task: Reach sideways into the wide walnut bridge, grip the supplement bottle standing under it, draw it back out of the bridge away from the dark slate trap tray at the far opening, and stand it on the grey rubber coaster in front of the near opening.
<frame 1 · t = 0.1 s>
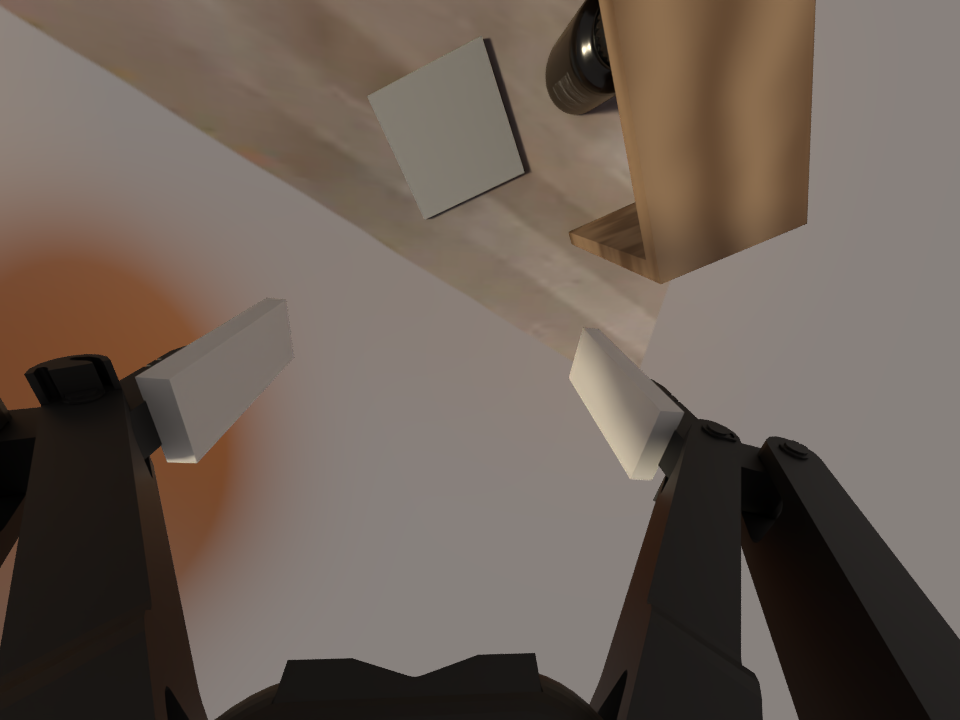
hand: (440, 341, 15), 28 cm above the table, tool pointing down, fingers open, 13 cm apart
bridge: (577, 73, 34), on the table
supplement bottle: (576, 74, 34), on the table
coaster: (450, 137, 35), on the table
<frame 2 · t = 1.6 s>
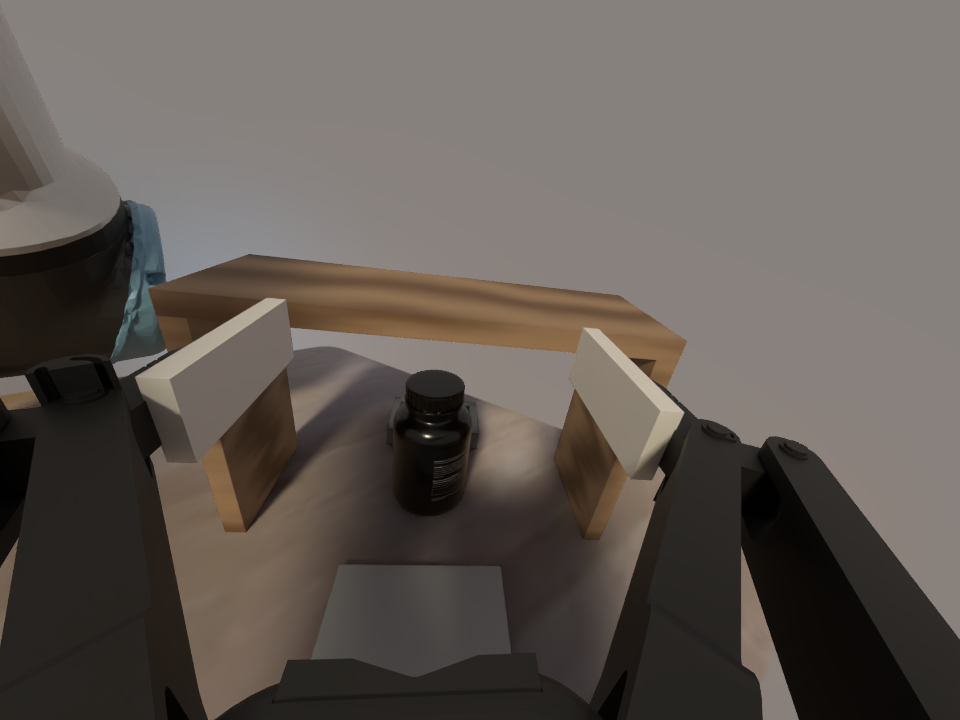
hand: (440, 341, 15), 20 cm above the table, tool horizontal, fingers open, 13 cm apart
bridge: (428, 488, 33), on the table
trap tray: (433, 429, 41), on the table
supplement bottle: (428, 490, 33), on the table
coaster: (413, 672, 20), on the table
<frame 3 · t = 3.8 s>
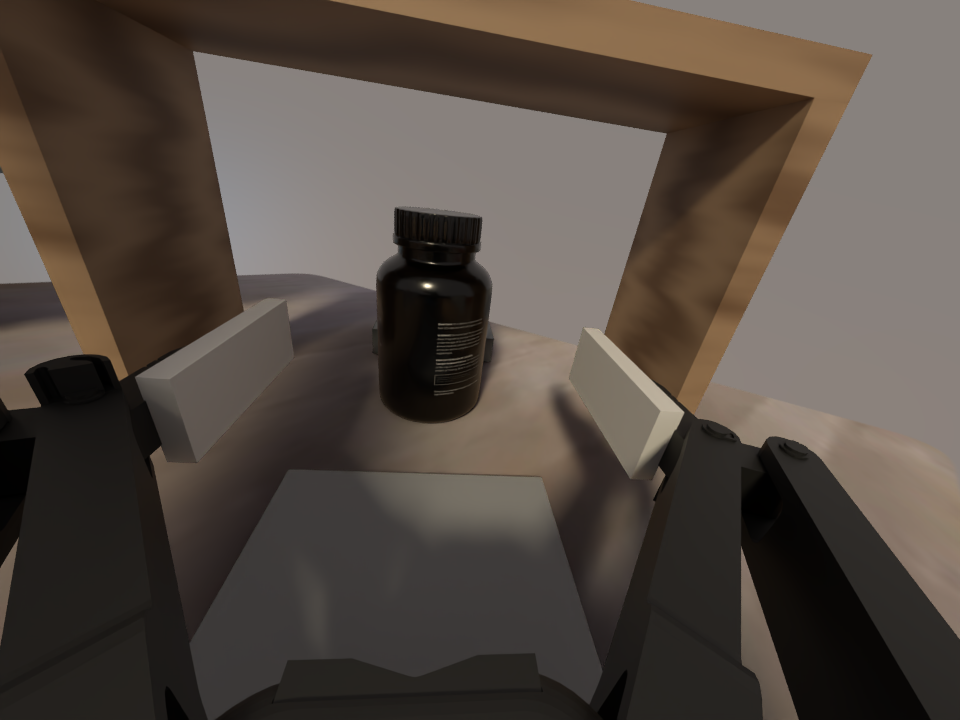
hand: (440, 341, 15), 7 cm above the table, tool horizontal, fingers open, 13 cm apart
bridge: (428, 396, 24), on the table
trap tray: (434, 343, 32), on the table
supplement bottle: (428, 398, 24), on the table
coaster: (406, 626, 11), on the table
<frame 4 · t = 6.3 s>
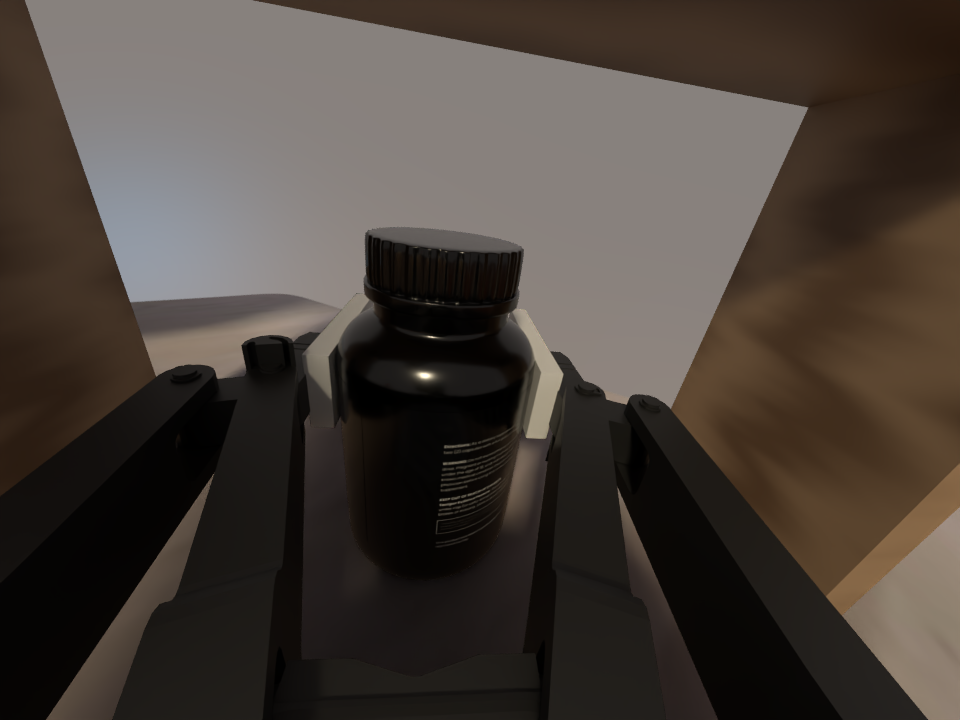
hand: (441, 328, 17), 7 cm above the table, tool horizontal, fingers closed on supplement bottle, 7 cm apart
bridge: (427, 510, 16), on the table
supplement bottle: (427, 513, 16), on the table, touching gripper
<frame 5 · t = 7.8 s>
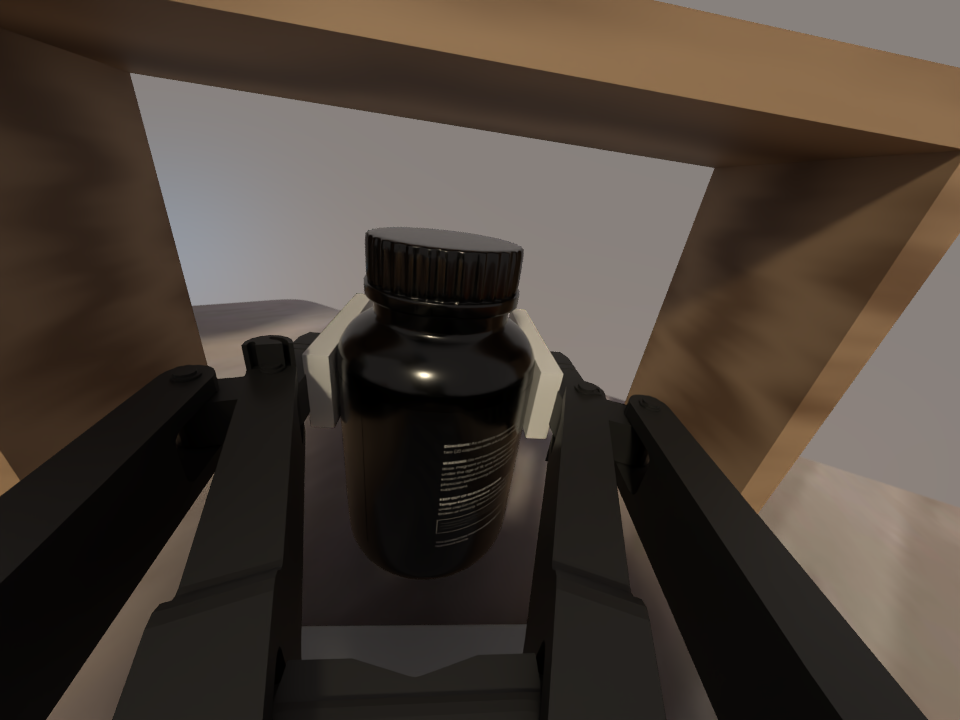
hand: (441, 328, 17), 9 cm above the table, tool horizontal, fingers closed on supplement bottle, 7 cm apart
bridge: (423, 476, 20), on the table
supplement bottle: (427, 513, 16), point 2 cm above the table, touching gripper
when the fingers open (9 cm above the table, at t = 9.5 s): supplement bottle drops 1 cm, resting on coaster.
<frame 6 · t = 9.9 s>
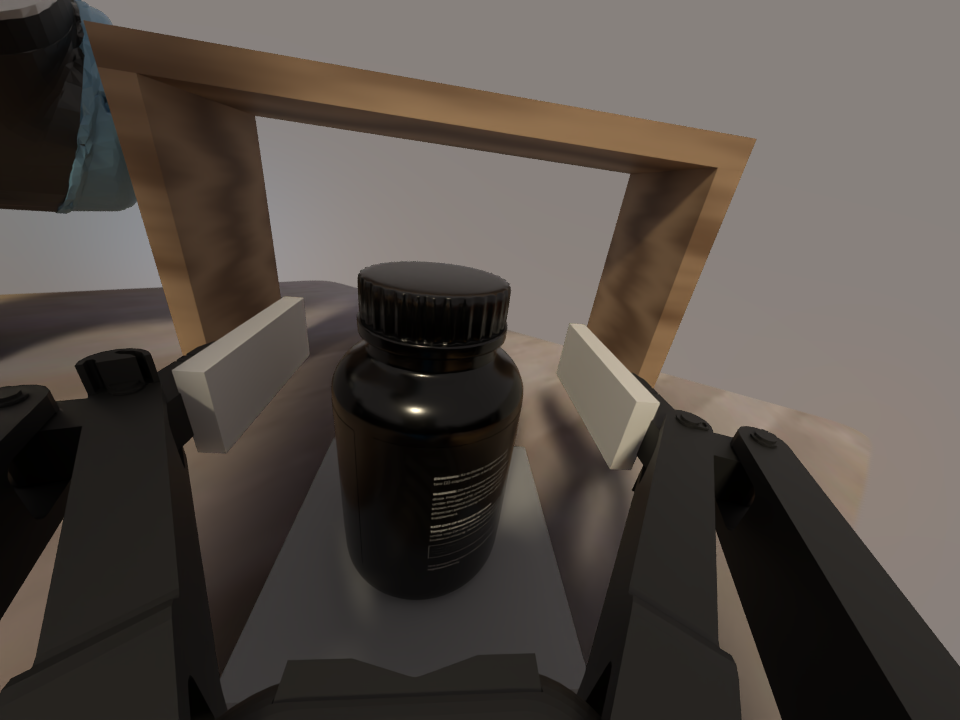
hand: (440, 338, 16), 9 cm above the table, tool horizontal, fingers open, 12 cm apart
bridge: (436, 386, 29), on the table
supplement bottle: (422, 531, 16), point 1 cm above the table, touching coaster
coaster: (424, 538, 16), on the table
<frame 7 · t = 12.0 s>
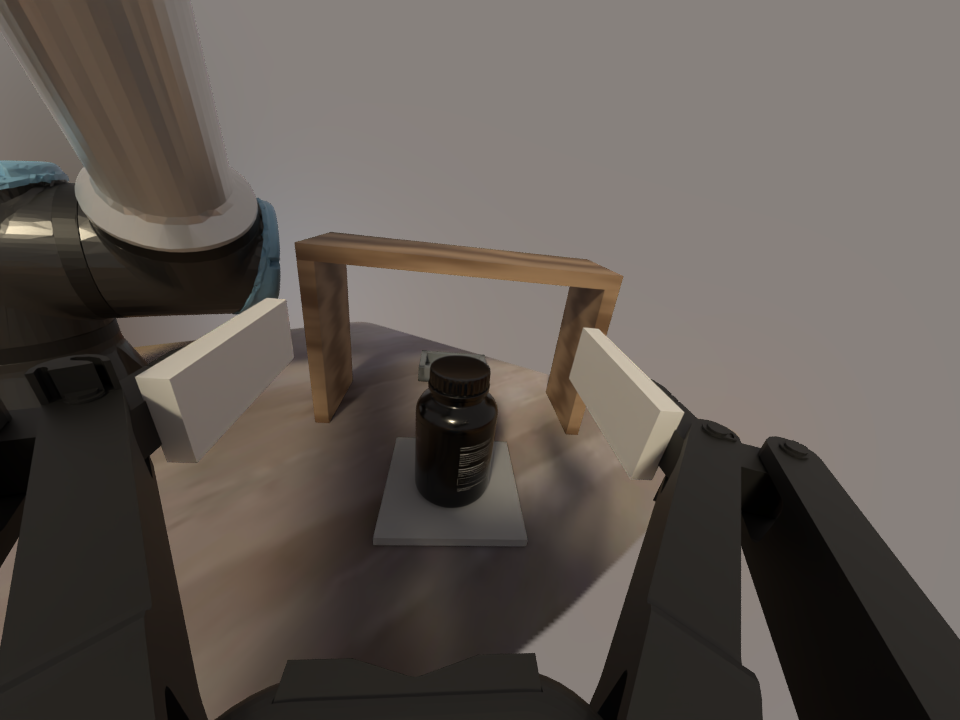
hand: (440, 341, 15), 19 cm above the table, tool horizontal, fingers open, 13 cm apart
bridge: (452, 405, 45), on the table
trap tray: (452, 373, 53), on the table
supplement bottle: (450, 482, 32), point 1 cm above the table, touching coaster
coaster: (451, 487, 32), on the table
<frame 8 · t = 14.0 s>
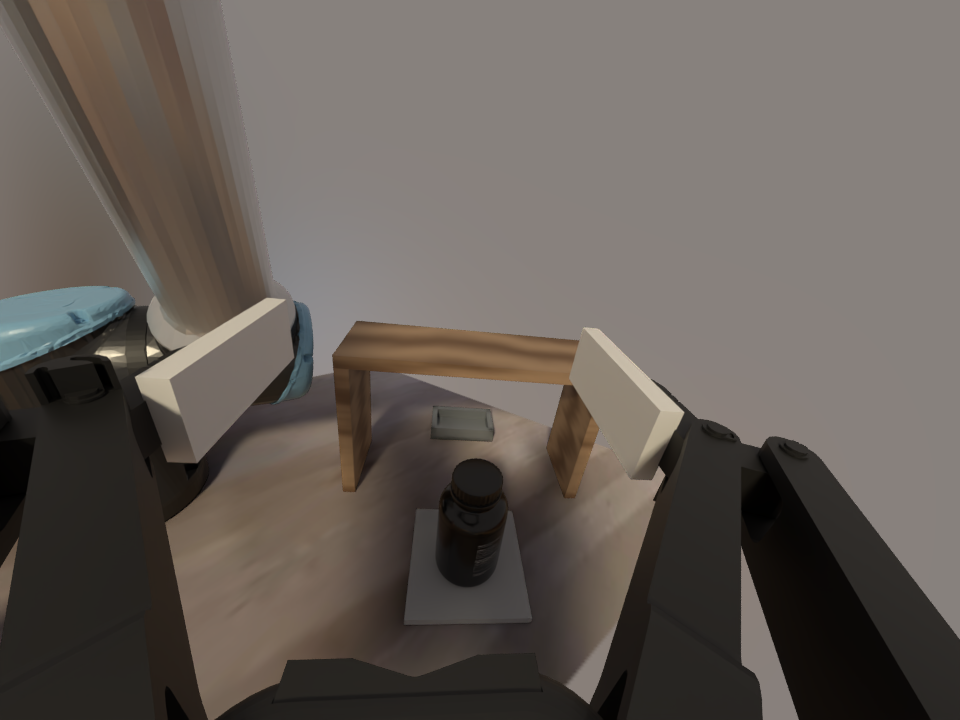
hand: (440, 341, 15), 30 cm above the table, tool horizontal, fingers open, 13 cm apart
bridge: (462, 467, 50), on the table
trap tray: (461, 428, 58), on the table
supplement bottle: (465, 558, 37), point 1 cm above the table, touching coaster
coaster: (466, 561, 37), on the table
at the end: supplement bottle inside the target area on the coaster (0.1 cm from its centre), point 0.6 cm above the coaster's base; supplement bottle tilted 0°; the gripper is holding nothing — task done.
